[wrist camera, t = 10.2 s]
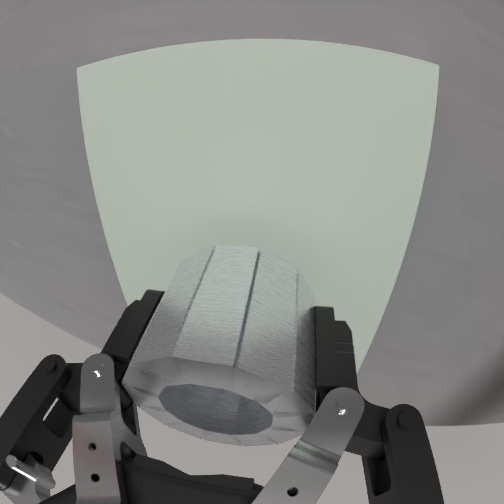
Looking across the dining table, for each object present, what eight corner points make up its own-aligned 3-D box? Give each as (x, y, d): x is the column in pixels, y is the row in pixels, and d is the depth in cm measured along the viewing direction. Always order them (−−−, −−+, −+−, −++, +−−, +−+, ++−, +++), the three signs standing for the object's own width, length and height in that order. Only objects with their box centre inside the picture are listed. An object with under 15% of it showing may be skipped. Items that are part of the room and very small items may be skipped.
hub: (160, 240, 11) (96, 339, 7) (322, 251, 10) (331, 373, 6) (183, 341, 14) (152, 427, 10) (303, 354, 14) (298, 450, 10)
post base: (102, 65, 10) (-17, 88, 5) (418, 65, 9) (527, 75, 3) (163, 352, 22) (133, 428, 16) (345, 371, 20) (348, 457, 14)
